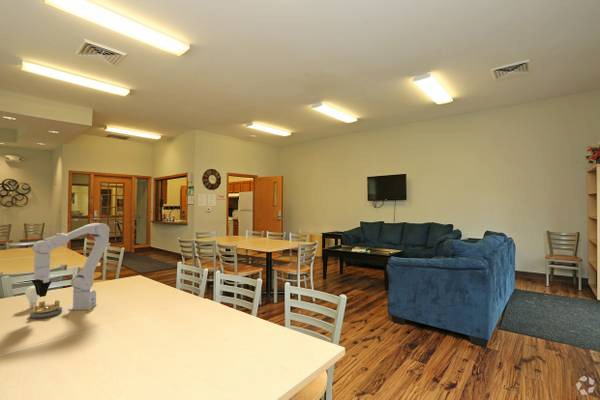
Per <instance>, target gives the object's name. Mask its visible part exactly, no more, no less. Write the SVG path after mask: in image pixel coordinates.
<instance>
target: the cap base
mask: <svg viewBox="0 0 600 400" xmlns="http://www.w3.org/2000/svg"><path fill="white" fill-rule="evenodd" d="M62 313H63V307H62V306H60V308H59V309H58V310H56V311H53V312H48V313H42V314H35V313H33V310H31V311H30V312H29V319H31V320H42V319H43V320H44V319H48V318H53V317H56V316H60V315H61V314H62Z"/></svg>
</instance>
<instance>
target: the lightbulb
mask: <svg viewBox="0 0 600 400" xmlns="http://www.w3.org/2000/svg"><path fill="white" fill-rule="evenodd" d="M24 295H25V297H26V298H27V301H28V303H29V308H32V309H33V306H35V305H37V301H38V298H40V296H39V295H37V294H36V289H35V286H34V285H31V286H29V287H28V288H26V289H25V292H24Z"/></svg>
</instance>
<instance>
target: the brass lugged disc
mask: <svg viewBox="0 0 600 400" xmlns="http://www.w3.org/2000/svg"><path fill="white" fill-rule="evenodd" d="M60 307H61V305H60V300H58V299H55V300H54V303H50V304H49V303H48V304H46V301H44V300H42V301H38V305H37V304H36V305H35V306H33V308H32V311H33V313H35V314H42V313H48V312H53V311H56V310H58V309H59V308H60Z"/></svg>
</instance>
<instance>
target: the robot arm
mask: <svg viewBox="0 0 600 400" xmlns="http://www.w3.org/2000/svg"><path fill="white" fill-rule="evenodd" d="M110 231H111V229H110V227H109V225H108V224H106V223H103V222H102V223H101V222H100V223H98V222H92V223H89V224H88V223H87V224H85V225H83V226H81V227H79V228H76V229H73V230H72V231H70V232H68V233H64V232H61V233H60V232H57V233H55V235H53V236H50V237H45V238H44V240H38V241H36V242H34V244H33V246H31V250H32V251H33V252H34V257H33V259H34V260H33V276H30V278H29V279H30V280H31V282H32V284H33V286H35V289H36V294H37V295H39V298H43V297H46V295H47V294H48V291H49V288H50V285H51V284H52V280H50V278H51V252H52V251H53V250H54V249H57V248H60V247H62V246H64V245H66V244H68V243H69V241H70V240H72V239H75V238H77V237H80V236H83V235H86V234H90V235H91V236H92V237H93V239H94V240H95V243H94V245H93V247H92V248H91V252H90V253H89V255H88V257H87V259H86V261H85V263H84V265H83V266H82V269H81V270H80V271H78V273H76V275H75V277H73V278H72V279H71V282H70V285H71V287H72V288H73V289H72V307H69V308H68V311H70V310H72V311H73V310H74V311H75V310H77V311H78V310H80V311H81V310H82V311H84V310H85V311H86V310H87V311H88V310H89V309H91V308H93V307H95V306H97V305H98V304H97V291H96V290H94V289H91V288H92V287H93V286H94V279H95V274H94V272H95V270H96V268H97V267H98V264H99V262H100V260H101V258H102V256H103V255H104V252H105V250H106V248H107V246H108V245H109V242H110Z"/></svg>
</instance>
